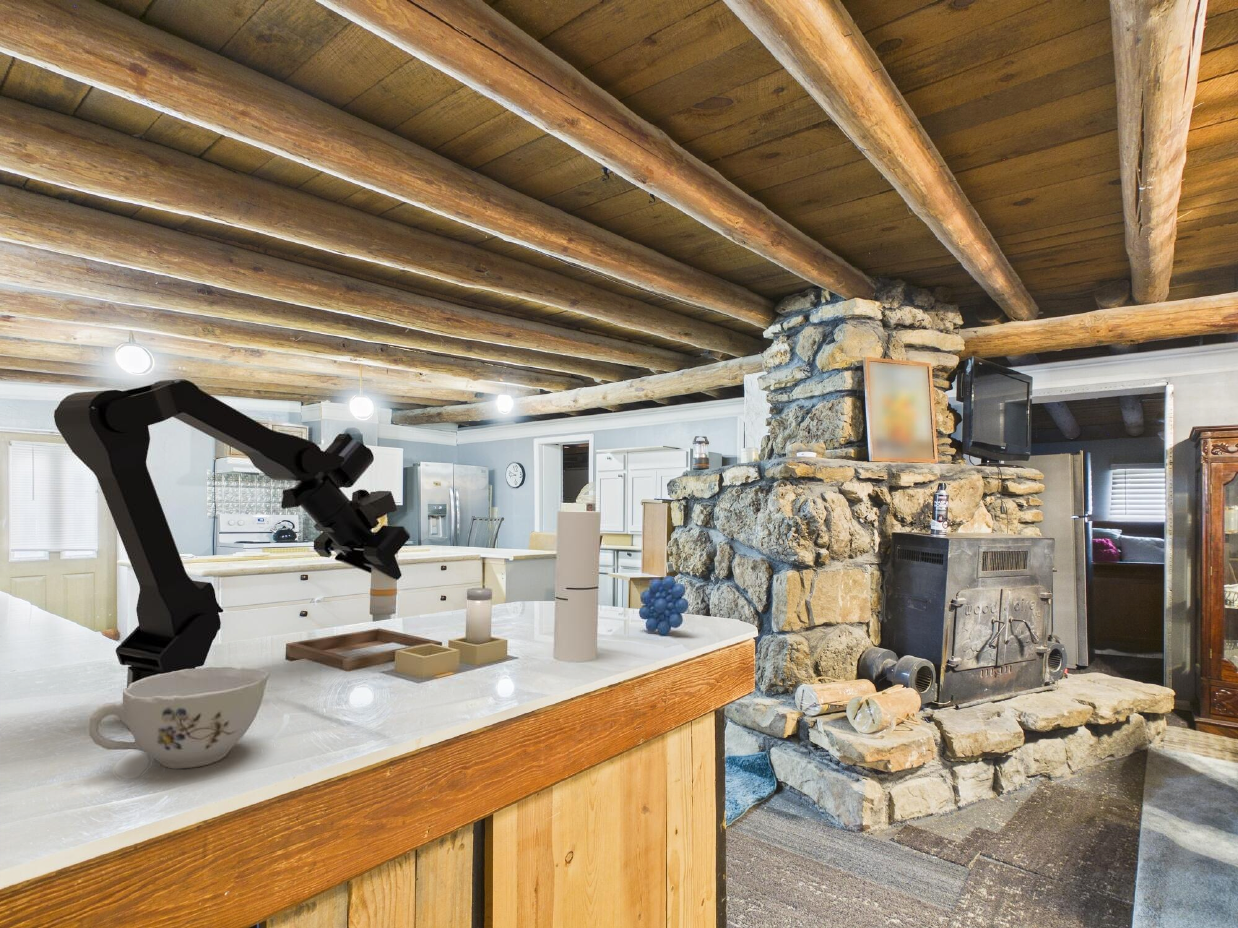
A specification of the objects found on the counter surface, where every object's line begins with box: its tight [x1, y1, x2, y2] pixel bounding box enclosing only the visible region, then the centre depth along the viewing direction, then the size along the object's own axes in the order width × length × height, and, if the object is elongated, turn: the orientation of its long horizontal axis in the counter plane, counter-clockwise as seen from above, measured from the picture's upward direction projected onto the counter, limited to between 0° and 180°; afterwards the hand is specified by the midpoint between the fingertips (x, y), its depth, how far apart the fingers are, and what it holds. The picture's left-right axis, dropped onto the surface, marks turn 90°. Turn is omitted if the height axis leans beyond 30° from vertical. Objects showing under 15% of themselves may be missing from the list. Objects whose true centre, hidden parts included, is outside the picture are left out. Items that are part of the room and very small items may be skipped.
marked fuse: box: [369, 551, 399, 616], centre depth 110 cm, size 4×4×11 cm
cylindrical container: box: [553, 510, 601, 664], centre depth 113 cm, size 7×7×25 cm
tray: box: [284, 628, 443, 672], centre depth 112 cm, size 17×17×2 cm
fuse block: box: [379, 635, 520, 684], centre depth 105 cm, size 20×9×4 cm, turn 144°
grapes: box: [638, 575, 689, 636], centre depth 138 cm, size 12×7×12 cm, turn 53°
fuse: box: [465, 587, 493, 645], centre depth 109 cm, size 4×4×11 cm
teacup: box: [88, 666, 270, 769], centre depth 68 cm, size 15×12×8 cm
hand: (391, 576), depth 111 cm, fingers closed on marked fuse, 4 cm apart
